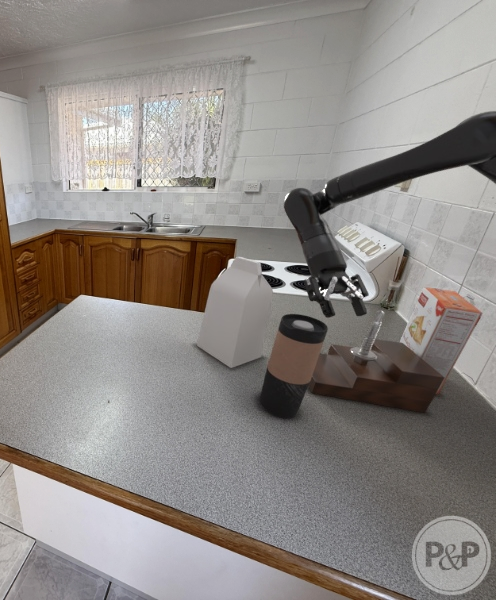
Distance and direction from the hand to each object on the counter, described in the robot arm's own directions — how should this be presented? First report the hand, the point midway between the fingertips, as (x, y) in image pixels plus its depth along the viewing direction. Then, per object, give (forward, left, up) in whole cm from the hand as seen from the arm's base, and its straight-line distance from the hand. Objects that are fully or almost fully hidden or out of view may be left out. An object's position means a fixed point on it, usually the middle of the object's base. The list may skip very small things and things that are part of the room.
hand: (346, 315), depth 74 cm
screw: (-3, +6, -9) cm, 11 cm away
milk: (+24, 0, -15) cm, 28 cm away
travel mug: (+16, +20, -15) cm, 30 cm away
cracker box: (-19, -2, -15) cm, 24 cm away
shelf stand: (-3, +6, -14) cm, 16 cm away
